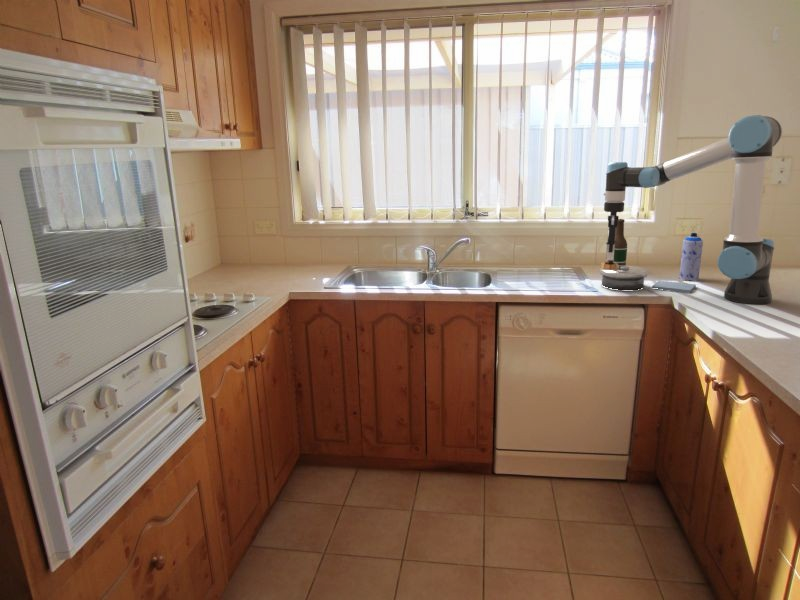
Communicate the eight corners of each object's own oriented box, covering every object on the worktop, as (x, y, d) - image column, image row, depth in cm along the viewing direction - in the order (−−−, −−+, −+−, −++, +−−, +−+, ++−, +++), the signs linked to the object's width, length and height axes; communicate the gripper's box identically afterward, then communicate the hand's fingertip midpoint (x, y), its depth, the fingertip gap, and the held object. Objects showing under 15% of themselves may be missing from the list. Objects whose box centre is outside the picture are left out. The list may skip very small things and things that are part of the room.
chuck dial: (651, 272, 232) (652, 263, 231) (641, 280, 217) (641, 270, 216) (607, 268, 242) (608, 259, 241) (594, 275, 228) (595, 266, 227)
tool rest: (695, 287, 228) (695, 284, 227) (690, 293, 218) (690, 290, 218) (658, 283, 236) (658, 280, 235) (651, 288, 226) (652, 286, 226)
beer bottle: (607, 272, 259) (611, 220, 253) (607, 268, 266) (610, 218, 260) (625, 272, 257) (630, 220, 251) (624, 269, 264) (628, 218, 258)
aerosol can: (702, 281, 238) (708, 234, 233) (683, 281, 238) (689, 234, 233) (693, 277, 246) (698, 231, 241) (675, 277, 246) (680, 231, 241)
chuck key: (613, 267, 233) (616, 229, 228) (612, 269, 230) (615, 230, 226) (605, 267, 234) (608, 228, 229) (604, 268, 231) (607, 230, 227)
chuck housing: (647, 285, 233) (648, 273, 231) (637, 293, 220) (638, 280, 219) (608, 280, 242) (609, 269, 241) (596, 288, 229) (597, 276, 228)
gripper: (605, 199, 233) (601, 255, 239) (603, 203, 219) (599, 262, 225) (624, 199, 231) (620, 256, 237) (624, 203, 216) (619, 263, 222)
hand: (610, 259), depth 231 cm, fingers closed on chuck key, 3 cm apart
